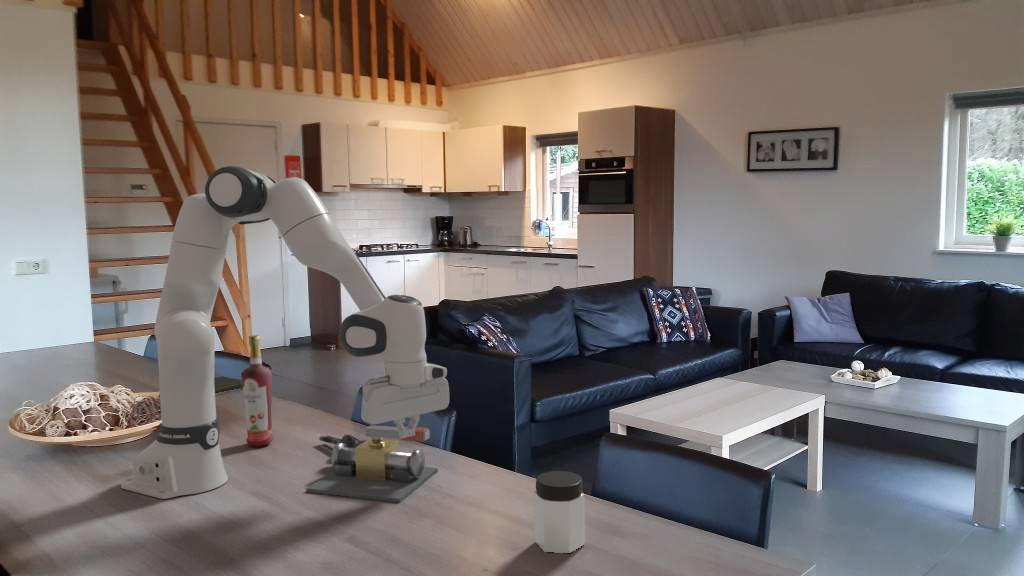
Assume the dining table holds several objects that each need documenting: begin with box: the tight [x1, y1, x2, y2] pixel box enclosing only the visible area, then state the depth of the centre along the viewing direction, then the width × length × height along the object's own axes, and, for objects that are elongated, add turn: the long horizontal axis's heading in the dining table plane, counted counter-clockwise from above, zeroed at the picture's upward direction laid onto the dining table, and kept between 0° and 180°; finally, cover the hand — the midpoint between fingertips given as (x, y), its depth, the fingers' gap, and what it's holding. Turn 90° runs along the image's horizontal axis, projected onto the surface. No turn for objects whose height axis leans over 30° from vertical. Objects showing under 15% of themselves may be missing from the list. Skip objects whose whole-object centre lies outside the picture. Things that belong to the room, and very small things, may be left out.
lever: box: [365, 424, 431, 443], centre depth 169 cm, size 14×3×3 cm, turn 74°
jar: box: [533, 470, 586, 554], centre depth 137 cm, size 9×8×12 cm
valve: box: [319, 434, 368, 448], centre depth 189 cm, size 6×26×15 cm
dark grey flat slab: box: [214, 376, 243, 393], centre depth 256 cm, size 16×23×2 cm
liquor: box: [240, 334, 275, 448], centre depth 196 cm, size 7×7×28 cm
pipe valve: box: [330, 437, 426, 483], centre depth 171 cm, size 20×7×8 cm, turn 72°
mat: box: [305, 466, 439, 503], centre depth 170 cm, size 22×19×1 cm
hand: (407, 436), depth 164 cm, fingers closed
